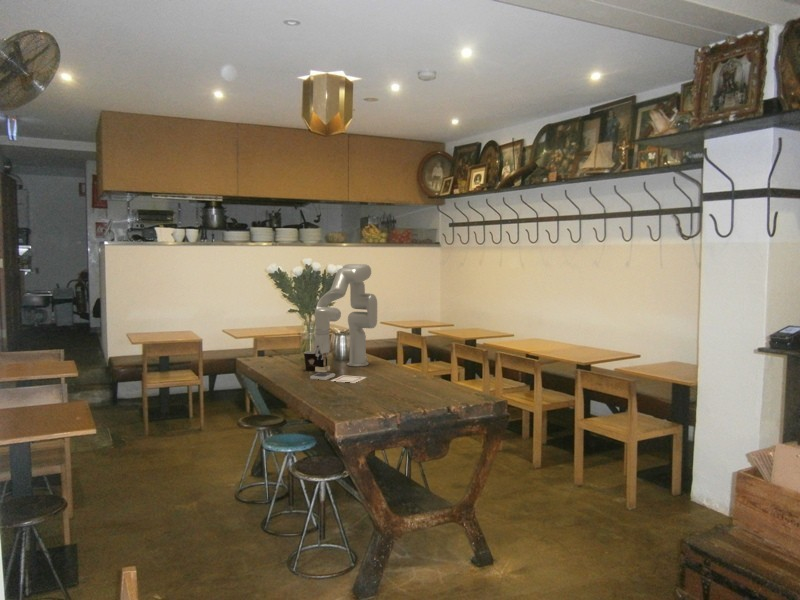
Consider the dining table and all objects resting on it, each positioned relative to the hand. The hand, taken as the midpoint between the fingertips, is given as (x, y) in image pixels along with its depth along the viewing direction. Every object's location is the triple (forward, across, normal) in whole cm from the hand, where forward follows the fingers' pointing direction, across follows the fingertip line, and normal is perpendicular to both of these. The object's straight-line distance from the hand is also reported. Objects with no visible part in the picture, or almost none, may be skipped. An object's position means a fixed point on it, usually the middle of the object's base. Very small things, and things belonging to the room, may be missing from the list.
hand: (322, 366), depth 330 cm
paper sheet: (+6, -1, +15) cm, 16 cm away
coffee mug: (+6, -16, -14) cm, 22 cm away
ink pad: (+6, 0, 0) cm, 6 cm away
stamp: (+3, 0, 0) cm, 3 cm away
